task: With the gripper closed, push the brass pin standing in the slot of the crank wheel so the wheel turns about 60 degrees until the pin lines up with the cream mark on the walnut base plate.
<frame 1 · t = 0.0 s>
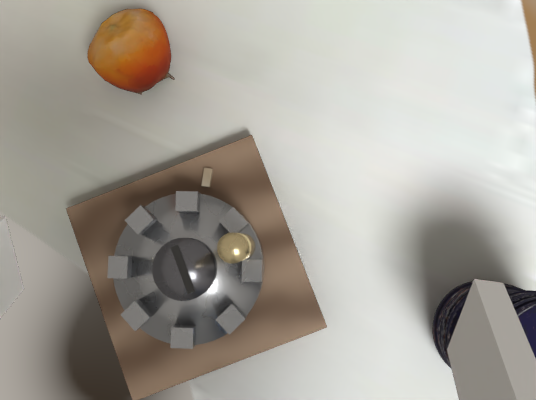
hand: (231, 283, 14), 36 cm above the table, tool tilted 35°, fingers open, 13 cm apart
crank wheel: (181, 269, 43), point 7 cm above the table, hinge at 0.0°
storage jar: (482, 330, 48), on the table
base plate: (197, 265, 50), on the table
fruit: (143, 63, 53), on the table
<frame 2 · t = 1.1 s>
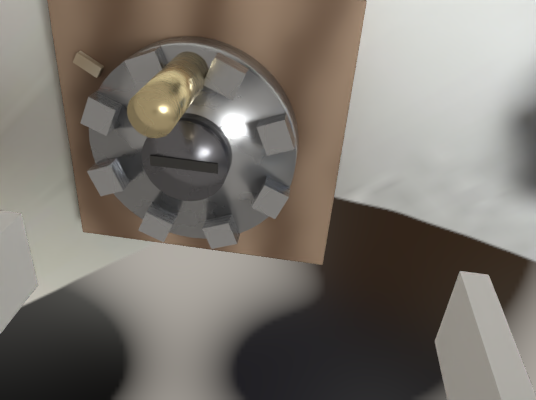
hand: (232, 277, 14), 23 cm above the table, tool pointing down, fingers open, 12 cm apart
crank wheel: (180, 169, 31), point 7 cm above the table, hinge at 0.0°
base plate: (207, 125, 37), on the table
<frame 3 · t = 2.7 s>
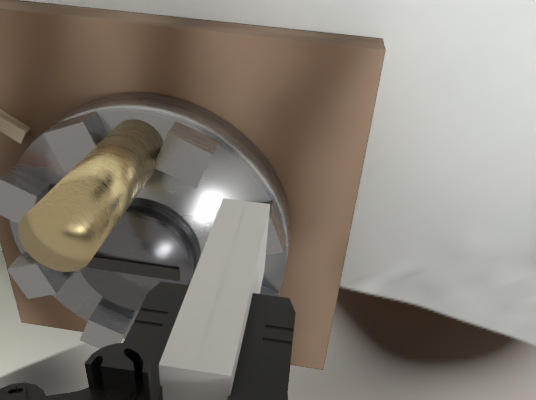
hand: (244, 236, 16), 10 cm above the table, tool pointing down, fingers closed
crank wheel: (127, 277, 22), point 7 cm above the table, hinge at 0.0°
base plate: (173, 197, 28), on the table
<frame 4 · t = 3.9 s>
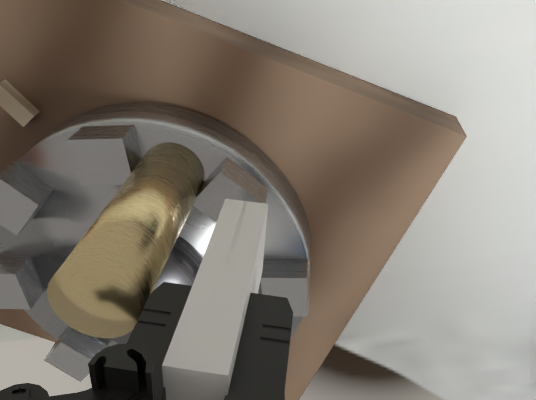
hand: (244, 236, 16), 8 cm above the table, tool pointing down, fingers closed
crank wheel: (127, 315, 19), point 7 cm above the table, hinge at 1.8°, touching gripper
base plate: (177, 217, 25), on the table
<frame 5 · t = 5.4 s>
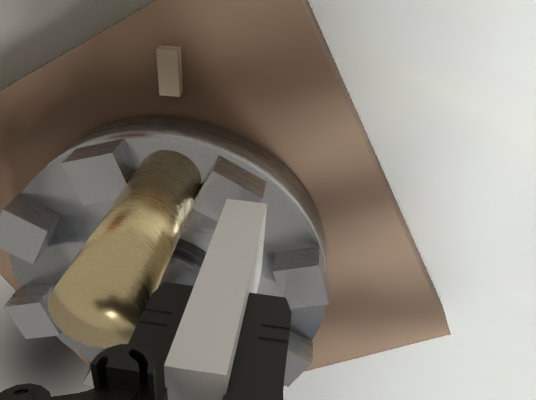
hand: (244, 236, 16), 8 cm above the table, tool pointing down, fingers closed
crank wheel: (149, 327, 20), point 7 cm above the table, hinge at 54.8°, touching gripper
base plate: (191, 225, 26), on the table
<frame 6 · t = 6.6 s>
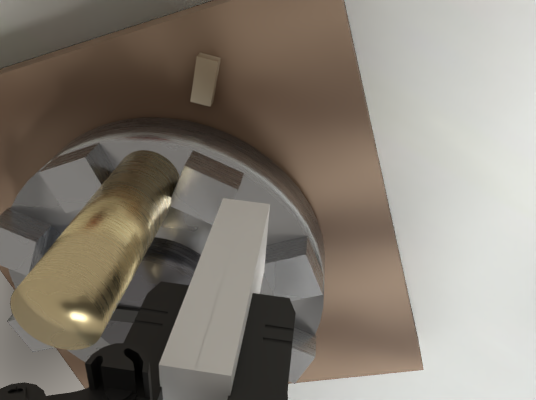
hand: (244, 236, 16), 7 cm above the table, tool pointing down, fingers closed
crank wheel: (143, 330, 19), point 7 cm above the table, hinge at 71.1°
base plate: (189, 228, 25), on the table
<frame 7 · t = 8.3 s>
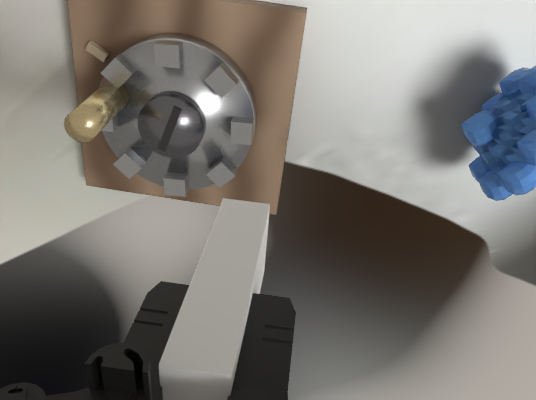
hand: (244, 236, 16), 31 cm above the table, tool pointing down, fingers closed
crank wheel: (167, 132, 41), point 7 cm above the table, hinge at 71.1°
base plate: (187, 102, 47), on the table
grapes: (483, 103, 45), on the table
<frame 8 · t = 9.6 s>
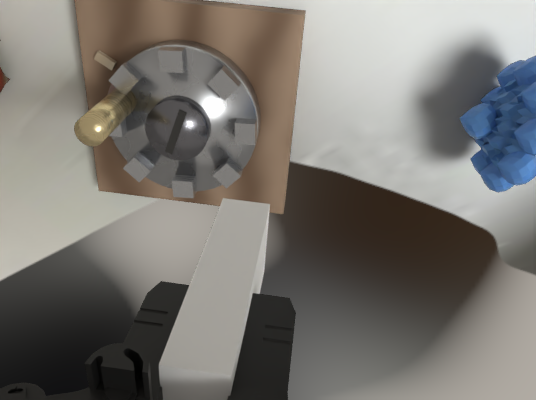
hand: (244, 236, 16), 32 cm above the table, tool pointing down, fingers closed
crank wheel: (173, 135, 43), point 7 cm above the table, hinge at 71.1°
base plate: (193, 106, 49), on the table
grapes: (483, 97, 45), on the table
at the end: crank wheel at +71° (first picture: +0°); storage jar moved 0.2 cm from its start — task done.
